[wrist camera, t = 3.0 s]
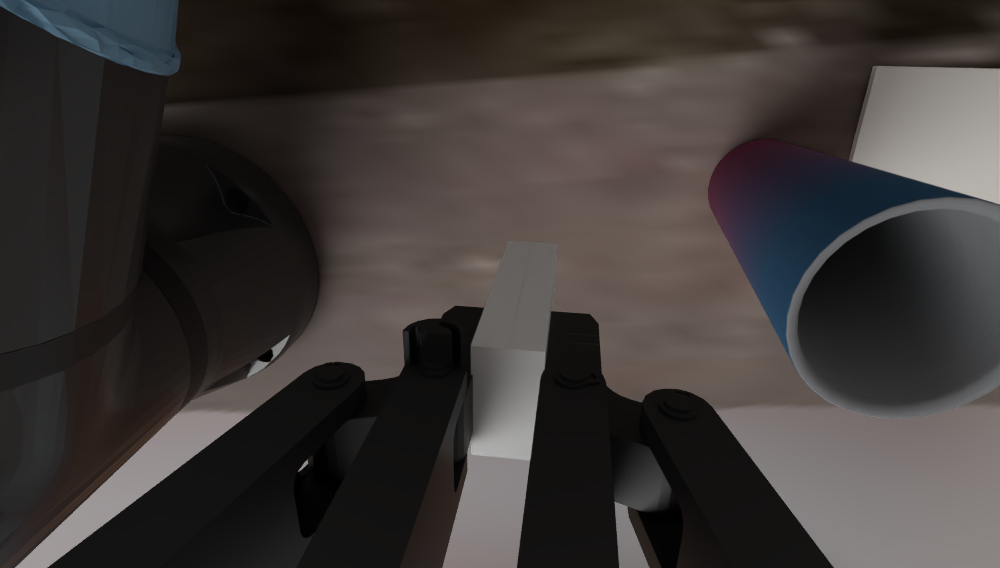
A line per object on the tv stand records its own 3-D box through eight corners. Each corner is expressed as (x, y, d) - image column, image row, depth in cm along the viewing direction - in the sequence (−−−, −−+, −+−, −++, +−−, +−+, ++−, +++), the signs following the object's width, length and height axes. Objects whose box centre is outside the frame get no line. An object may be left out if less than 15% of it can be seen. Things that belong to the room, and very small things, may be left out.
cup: (698, 260, 31) (793, 432, 18) (682, 138, 29) (777, 227, 15) (832, 235, 30) (1049, 402, 16) (826, 105, 27) (1076, 169, 14)
